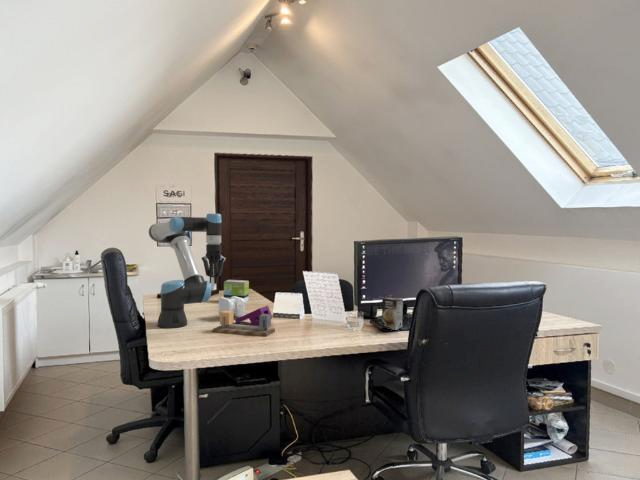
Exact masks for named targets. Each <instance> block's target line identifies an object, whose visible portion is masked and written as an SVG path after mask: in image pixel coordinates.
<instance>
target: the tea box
mask: <svg viewBox="0 0 640 480" xmlns="http://www.w3.org/2000/svg"><path fill="white" fill-rule="evenodd" d="M249 293H250V281H249V280H246V279H245V280H242V279H227V280H224V281H223V297H224V298H227V299H231V297H232V296H236V297H239V298H243V299H244V300H245V302H246V303H247V302H249V296H250V295H249Z"/></svg>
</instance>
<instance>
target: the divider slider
mask: <svg viewBox="0 0 640 480" xmlns="http://www.w3.org/2000/svg"><path fill="white" fill-rule="evenodd" d="M221 324H222V328H224V327H225V325H230V324H234V315H233V311H222V312H220V316H219V325H221Z"/></svg>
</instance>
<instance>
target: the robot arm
mask: <svg viewBox="0 0 640 480" xmlns="http://www.w3.org/2000/svg"><path fill="white" fill-rule="evenodd" d="M222 221H223V220H222V214H220V213H207V214H206V216H204V217H202V216H201V217H199V216H198V217H195V216H192V217H189V216H188V217H187V216H172V217H171V218H169V220H168V221H165V222H156V223H154V224H151V225H150V227H149V229H148V235H149V237H150V239H151V240H152V241H154V242H156V243H159V244H169V246H170V248H171V249H173V250H174V253H175V256H176V259H177V262H178V265H179V269H180V271H181V275H182V277H183V279H175V280H169V281H165V282H163V283H162V284H161V285H160V286H161V287H160V313H159V316H158V319H157V323H156V325H157V327H158V328H163V329H165V328H166V329H174V328H175V329H177V328H183V327H186V326H187V325H188V319H187V315H186V313H185V305H191V304H202V303H206V302H208V301H209V300H210V298H211V295H212V291H216V290H217V284H218V283H219V282H218V281H219V280H218V279H219V278H218V277H221V276H222V273H223V269H224V264H225V262H226V260H227V258H226V257H224V256H223V254H222V244H221V243H222V223H223V222H222ZM194 232H195V233H205V237H206V242H205V243H207V244H206V245H205V248H206V249H205V250H206V253H205V255H204V256H202V257H201V260H202V263H203V267H204V272H205V276H206V277H209V280H205V278H204V276H203V275H202V274H200V273H199V270H198V267H197V263H196V261H195V258H194V256H193V253H192V250H191V246H190V243H191V241H192V233H194Z"/></svg>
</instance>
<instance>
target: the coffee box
mask: <svg viewBox="0 0 640 480" xmlns="http://www.w3.org/2000/svg"><path fill="white" fill-rule="evenodd" d="M381 301H382V304H381V305H382V307H381V326H382V325H383V326H386V327H390V328H392V329H395V330H397V329H399V328H401V327H402V328H403V314H404V313H403V309H404V300H403V299H402V298H397V297H389V296H387V297H382V300H381Z"/></svg>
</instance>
